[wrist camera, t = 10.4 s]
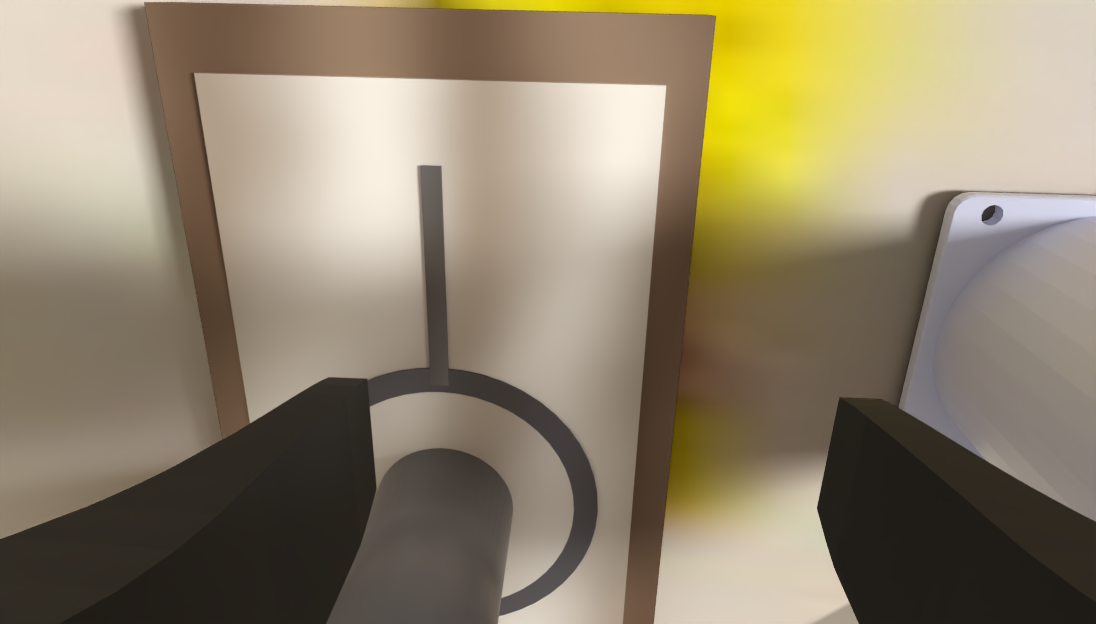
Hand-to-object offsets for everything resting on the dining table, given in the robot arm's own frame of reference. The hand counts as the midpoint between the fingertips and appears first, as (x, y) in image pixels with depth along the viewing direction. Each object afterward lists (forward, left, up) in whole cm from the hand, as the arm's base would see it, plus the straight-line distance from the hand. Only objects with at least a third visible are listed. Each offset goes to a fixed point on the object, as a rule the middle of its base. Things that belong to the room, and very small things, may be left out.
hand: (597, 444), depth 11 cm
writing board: (+4, +4, -9) cm, 11 cm away
